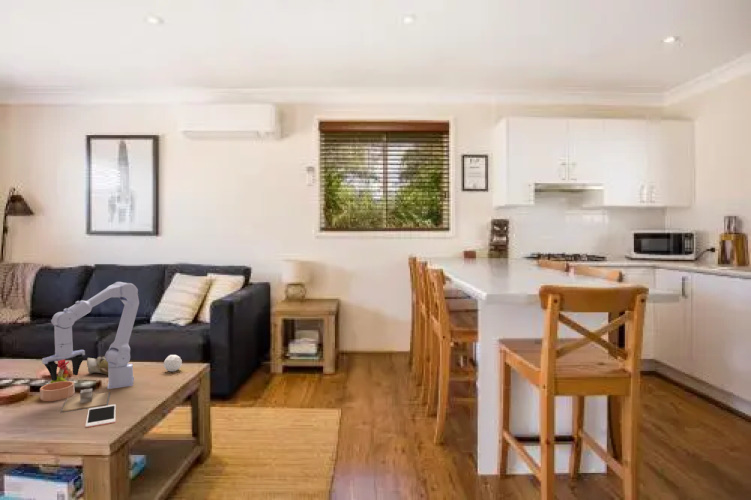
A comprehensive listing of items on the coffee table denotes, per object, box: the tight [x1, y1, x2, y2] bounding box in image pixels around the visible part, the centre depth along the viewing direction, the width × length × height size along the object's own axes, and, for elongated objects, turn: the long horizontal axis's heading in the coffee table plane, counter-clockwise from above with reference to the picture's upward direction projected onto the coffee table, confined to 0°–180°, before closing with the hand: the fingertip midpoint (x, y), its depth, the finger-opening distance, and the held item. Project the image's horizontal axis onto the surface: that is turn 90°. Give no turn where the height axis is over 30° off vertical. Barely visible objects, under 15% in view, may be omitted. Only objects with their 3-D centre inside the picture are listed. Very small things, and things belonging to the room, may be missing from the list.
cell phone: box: [84, 403, 117, 428], centre depth 167 cm, size 9×18×1 cm, turn 29°
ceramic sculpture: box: [86, 354, 108, 375], centre depth 216 cm, size 11×9×15 cm
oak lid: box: [61, 388, 110, 413], centre depth 179 cm, size 14×14×4 cm
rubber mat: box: [60, 392, 111, 414], centre depth 179 cm, size 15×15×1 cm
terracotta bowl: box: [39, 380, 76, 402], centre depth 185 cm, size 11×11×4 cm
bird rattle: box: [49, 359, 70, 384], centre depth 201 cm, size 6×11×9 cm
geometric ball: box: [163, 354, 183, 372], centre depth 219 cm, size 8×8×8 cm
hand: (65, 377), depth 181 cm, fingers open, 7 cm apart
